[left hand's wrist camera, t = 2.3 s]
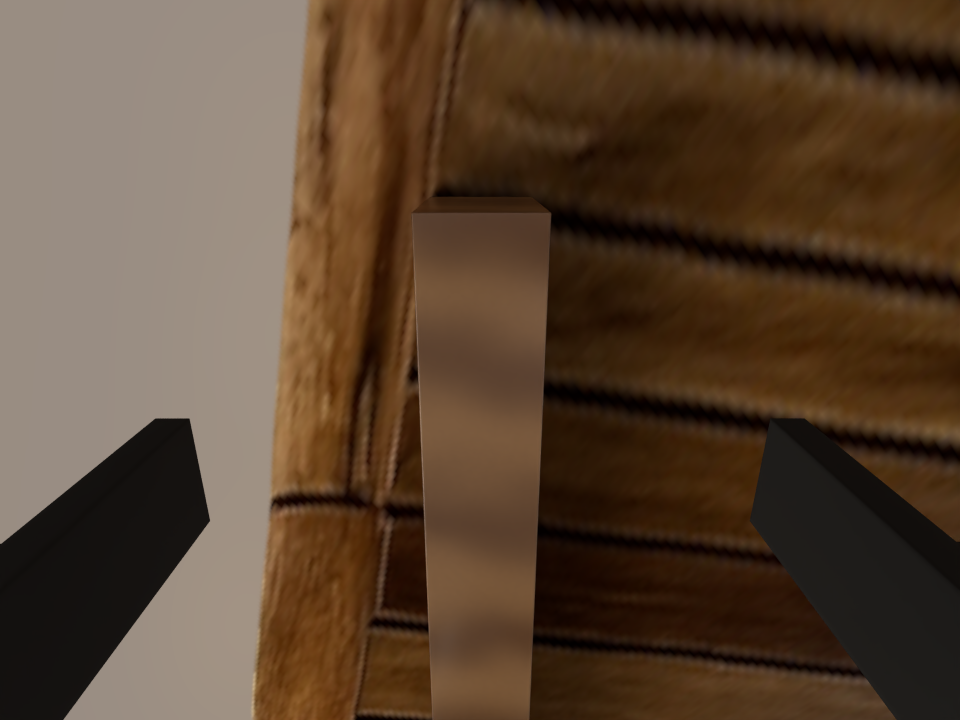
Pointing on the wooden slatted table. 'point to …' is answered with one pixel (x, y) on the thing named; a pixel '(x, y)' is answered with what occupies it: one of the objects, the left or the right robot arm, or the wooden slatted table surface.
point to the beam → (481, 443)
